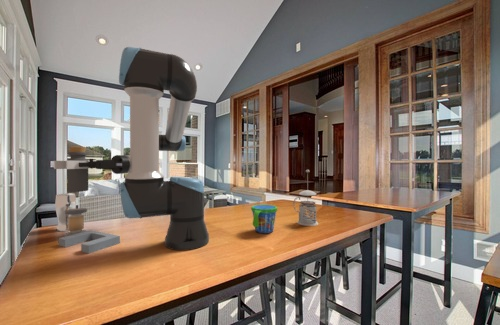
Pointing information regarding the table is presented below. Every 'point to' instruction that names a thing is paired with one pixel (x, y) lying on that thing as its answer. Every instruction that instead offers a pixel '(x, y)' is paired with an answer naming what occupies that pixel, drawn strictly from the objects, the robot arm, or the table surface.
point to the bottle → (77, 171)
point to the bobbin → (75, 220)
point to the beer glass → (64, 209)
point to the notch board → (97, 243)
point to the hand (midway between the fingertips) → (60, 164)
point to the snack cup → (264, 218)
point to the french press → (307, 208)
